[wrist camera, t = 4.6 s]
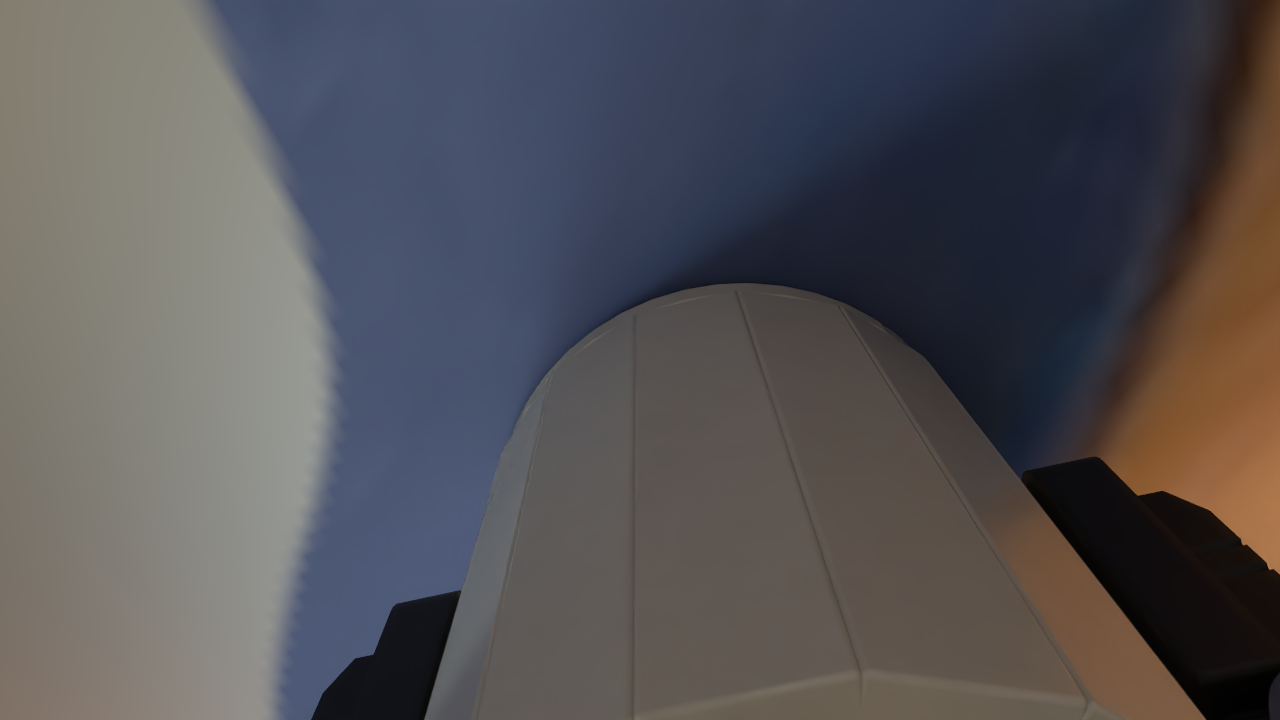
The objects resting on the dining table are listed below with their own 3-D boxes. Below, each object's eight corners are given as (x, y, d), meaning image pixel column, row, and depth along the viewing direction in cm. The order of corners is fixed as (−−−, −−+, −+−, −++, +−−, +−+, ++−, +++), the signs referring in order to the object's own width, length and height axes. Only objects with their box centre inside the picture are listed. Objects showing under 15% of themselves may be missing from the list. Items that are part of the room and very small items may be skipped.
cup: (440, 345, 13) (187, 807, 5) (935, 229, 12) (1356, 571, 5) (568, 741, 14) (502, 1458, 7) (999, 655, 14) (1365, 1330, 7)
